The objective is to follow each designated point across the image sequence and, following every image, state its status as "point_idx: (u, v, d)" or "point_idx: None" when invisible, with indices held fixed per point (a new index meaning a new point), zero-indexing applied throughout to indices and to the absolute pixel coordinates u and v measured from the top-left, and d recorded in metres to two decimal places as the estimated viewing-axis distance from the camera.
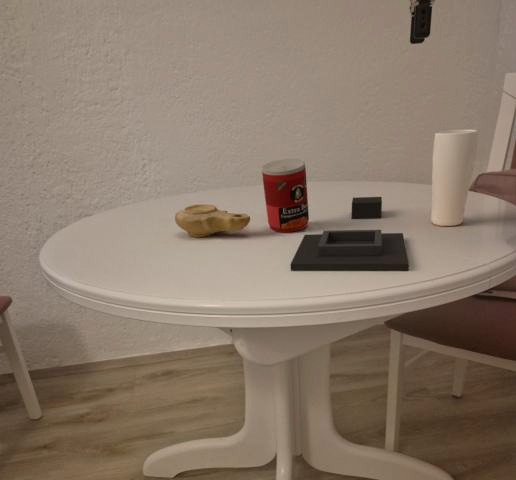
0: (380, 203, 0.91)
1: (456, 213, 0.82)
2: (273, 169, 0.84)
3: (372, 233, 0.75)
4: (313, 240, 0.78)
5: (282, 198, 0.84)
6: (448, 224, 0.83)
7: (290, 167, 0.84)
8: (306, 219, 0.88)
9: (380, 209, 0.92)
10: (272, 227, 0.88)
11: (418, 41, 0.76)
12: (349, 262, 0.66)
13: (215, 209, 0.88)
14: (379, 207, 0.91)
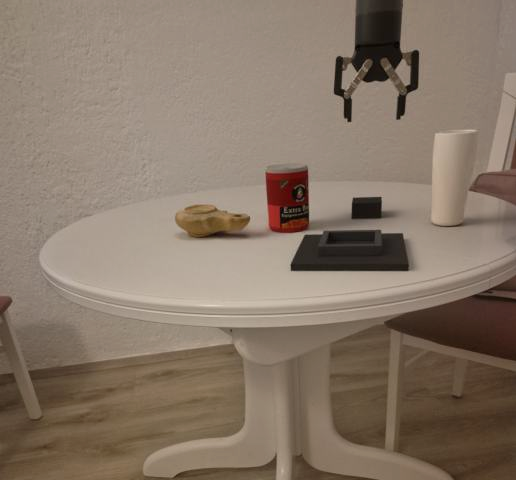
0: (380, 203, 0.91)
1: (456, 213, 0.82)
2: None
3: (372, 233, 0.75)
4: (313, 240, 0.78)
5: (284, 196, 0.84)
6: (448, 224, 0.83)
7: None
8: (306, 221, 0.88)
9: (380, 209, 0.92)
10: (272, 227, 0.89)
11: (396, 118, 0.85)
12: (349, 262, 0.66)
13: (215, 209, 0.88)
14: (379, 207, 0.91)
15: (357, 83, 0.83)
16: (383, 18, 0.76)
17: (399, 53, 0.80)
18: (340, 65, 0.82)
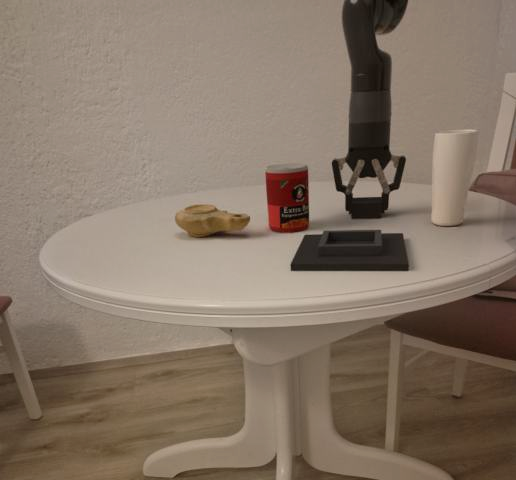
0: (380, 203, 0.91)
1: (456, 213, 0.82)
2: None
3: (372, 233, 0.75)
4: (313, 240, 0.78)
5: (284, 196, 0.84)
6: (448, 224, 0.83)
7: None
8: (306, 221, 0.88)
9: (380, 209, 0.92)
10: (272, 227, 0.89)
11: None
12: (349, 262, 0.66)
13: (215, 209, 0.88)
14: (379, 207, 0.91)
15: (355, 181, 0.91)
16: (373, 128, 0.85)
17: (389, 155, 0.89)
18: (337, 167, 0.91)
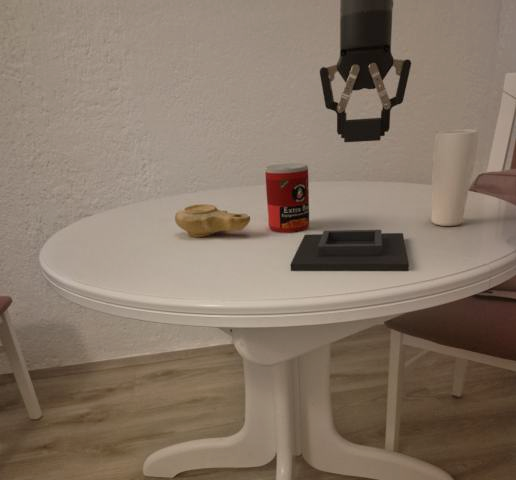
0: (379, 121, 0.74)
1: (456, 213, 0.82)
2: None
3: (372, 233, 0.75)
4: (313, 240, 0.78)
5: (284, 196, 0.84)
6: (448, 224, 0.83)
7: None
8: (306, 221, 0.88)
9: (379, 128, 0.75)
10: (272, 227, 0.89)
11: None
12: (349, 262, 0.66)
13: (215, 209, 0.88)
14: (377, 126, 0.75)
15: (348, 93, 0.74)
16: (370, 19, 0.68)
17: (390, 58, 0.72)
18: (326, 76, 0.74)
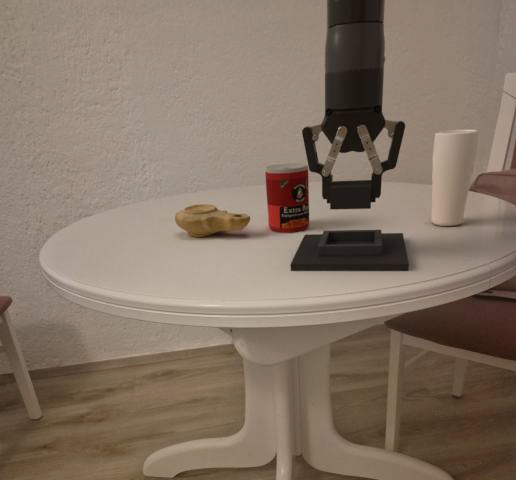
0: (369, 188, 0.66)
1: (456, 213, 0.82)
2: None
3: (372, 233, 0.75)
4: (313, 240, 0.78)
5: (284, 196, 0.84)
6: (448, 224, 0.83)
7: None
8: (306, 221, 0.88)
9: (369, 196, 0.66)
10: (272, 227, 0.89)
11: None
12: (349, 262, 0.66)
13: (215, 209, 0.88)
14: (367, 193, 0.66)
15: (334, 156, 0.66)
16: (359, 78, 0.59)
17: (381, 120, 0.63)
18: (309, 137, 0.66)
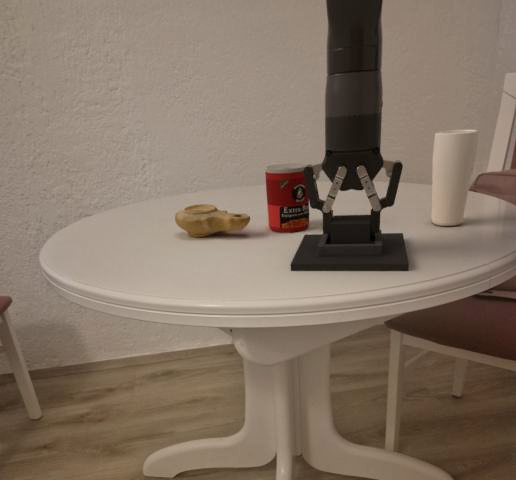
0: (368, 225, 0.68)
1: (456, 213, 0.82)
2: None
3: None
4: (313, 240, 0.78)
5: (284, 196, 0.84)
6: (448, 224, 0.83)
7: None
8: (306, 221, 0.88)
9: (368, 232, 0.69)
10: (272, 227, 0.89)
11: None
12: (349, 262, 0.66)
13: (215, 209, 0.88)
14: (366, 230, 0.68)
15: (335, 194, 0.68)
16: (357, 123, 0.62)
17: (380, 161, 0.66)
18: (310, 176, 0.68)
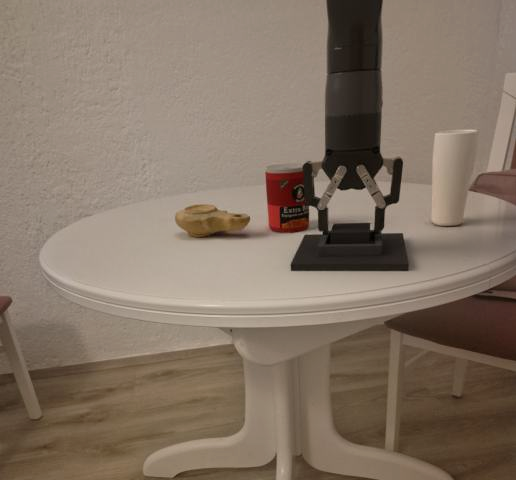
0: (368, 233, 0.69)
1: (456, 213, 0.82)
2: None
3: (372, 233, 0.75)
4: (313, 240, 0.78)
5: (284, 196, 0.84)
6: (448, 224, 0.83)
7: None
8: (306, 221, 0.88)
9: (368, 241, 0.69)
10: (272, 227, 0.89)
11: None
12: (349, 262, 0.66)
13: (215, 209, 0.88)
14: (366, 238, 0.69)
15: (331, 193, 0.68)
16: (357, 122, 0.62)
17: (379, 159, 0.65)
18: (309, 173, 0.68)
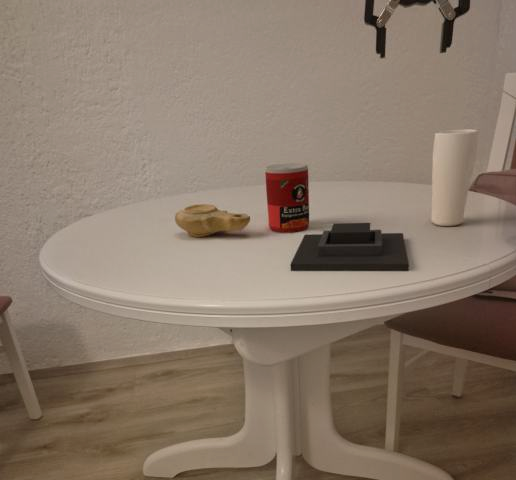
0: (368, 233, 0.69)
1: (456, 213, 0.82)
2: None
3: (372, 233, 0.75)
4: (313, 240, 0.78)
5: (284, 196, 0.84)
6: (448, 224, 0.83)
7: None
8: (306, 221, 0.88)
9: (368, 241, 0.69)
10: (272, 227, 0.89)
11: (440, 51, 0.70)
12: (349, 262, 0.66)
13: (215, 209, 0.88)
14: (366, 238, 0.69)
15: (394, 6, 0.67)
16: None
17: None
18: None
